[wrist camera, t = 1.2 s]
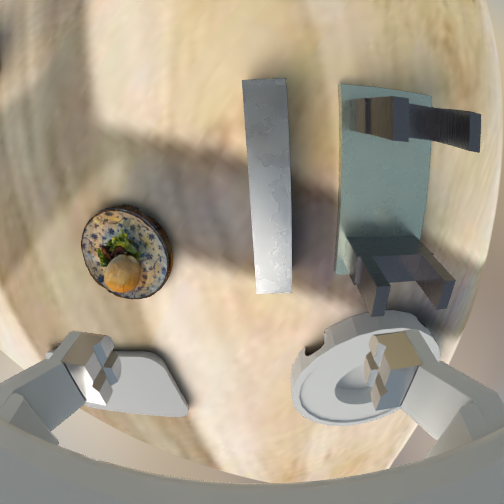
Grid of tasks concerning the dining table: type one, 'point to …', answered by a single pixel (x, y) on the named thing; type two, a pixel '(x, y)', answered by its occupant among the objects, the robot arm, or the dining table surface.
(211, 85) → the dining table surface
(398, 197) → the bracket stand
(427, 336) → the ashtray
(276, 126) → the rail
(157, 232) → the burger
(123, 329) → the dining table surface
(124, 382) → the tablet
